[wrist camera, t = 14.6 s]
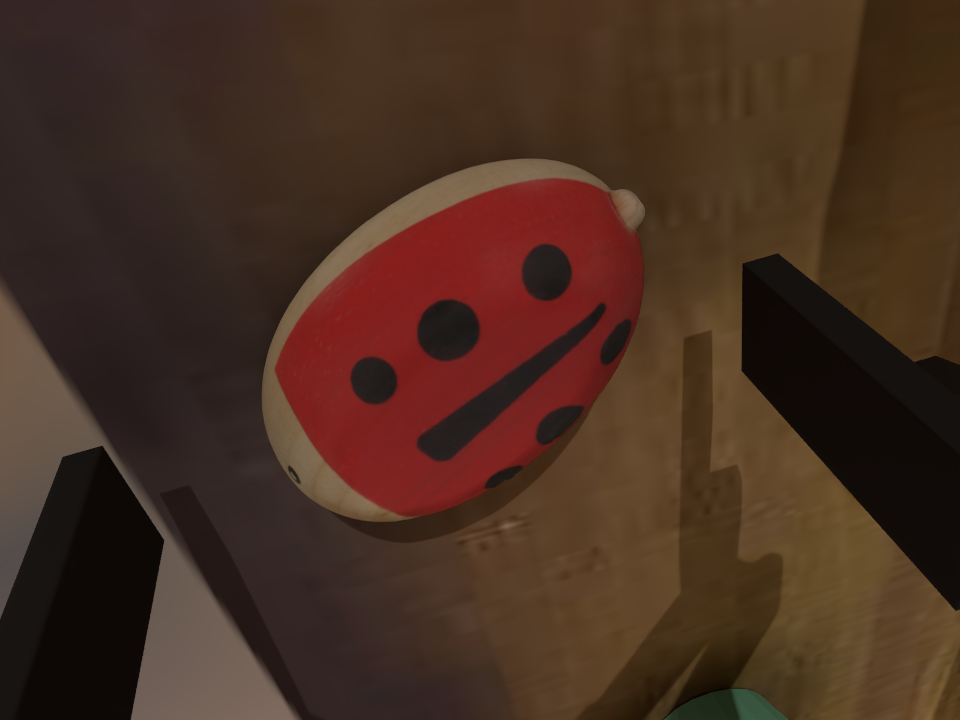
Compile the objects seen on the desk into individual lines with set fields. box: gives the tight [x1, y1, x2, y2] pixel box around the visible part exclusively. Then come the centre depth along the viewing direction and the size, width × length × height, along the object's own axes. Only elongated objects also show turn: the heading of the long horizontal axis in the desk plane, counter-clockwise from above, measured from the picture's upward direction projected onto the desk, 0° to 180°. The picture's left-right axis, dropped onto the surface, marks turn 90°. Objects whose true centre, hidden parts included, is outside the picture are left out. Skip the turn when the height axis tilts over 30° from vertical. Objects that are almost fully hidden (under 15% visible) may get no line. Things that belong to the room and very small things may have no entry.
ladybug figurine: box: [262, 159, 645, 522], centre depth 16 cm, size 7×10×4 cm
